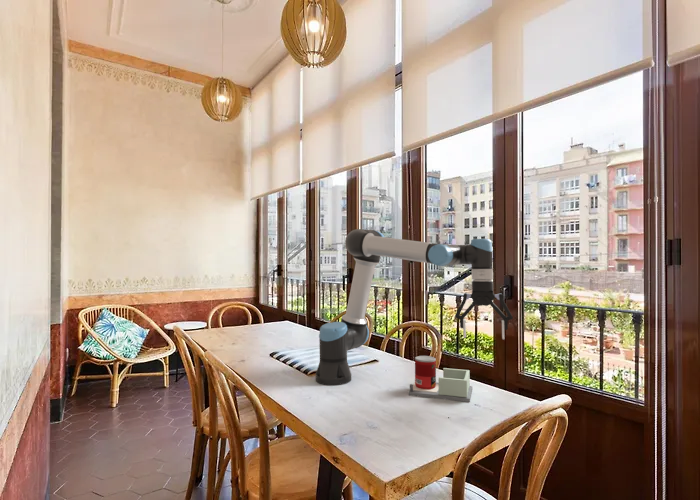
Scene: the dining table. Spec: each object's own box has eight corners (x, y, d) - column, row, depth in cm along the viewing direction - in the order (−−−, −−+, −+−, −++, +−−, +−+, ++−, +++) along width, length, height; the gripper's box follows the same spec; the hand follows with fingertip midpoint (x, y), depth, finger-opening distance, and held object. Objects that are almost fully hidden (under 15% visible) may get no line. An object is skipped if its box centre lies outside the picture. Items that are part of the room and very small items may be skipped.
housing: (438, 394, 152) (438, 377, 152) (443, 383, 165) (443, 368, 165) (466, 397, 148) (466, 380, 148) (469, 385, 162) (469, 370, 162)
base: (408, 395, 155) (408, 385, 155) (416, 383, 169) (416, 374, 169) (469, 402, 148) (469, 391, 148) (472, 389, 162) (472, 379, 162)
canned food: (435, 390, 156) (435, 361, 156) (414, 388, 158) (414, 360, 158) (435, 384, 164) (435, 356, 164) (415, 382, 165) (415, 355, 165)
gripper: (447, 280, 154) (448, 338, 153) (519, 281, 146) (520, 341, 146) (448, 279, 161) (450, 334, 161) (517, 279, 153) (519, 337, 153)
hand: (483, 337), depth 153 cm, fingers open, 13 cm apart
